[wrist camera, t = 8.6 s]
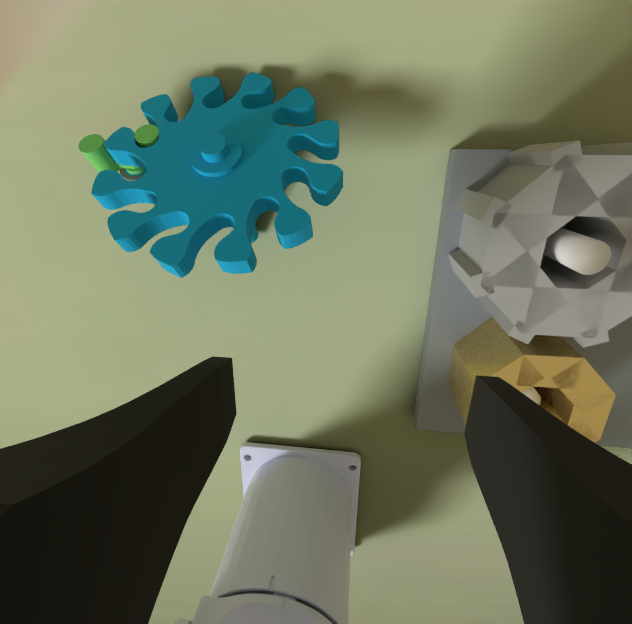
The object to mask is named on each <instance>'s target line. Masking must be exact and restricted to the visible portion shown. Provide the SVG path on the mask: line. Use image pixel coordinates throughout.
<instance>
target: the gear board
mask: <svg viewBox="0 0 632 624" xmlns="http://www.w3.org/2000/svg"><path fill="white" fill-rule="evenodd" d="M490 317H493V318H494V319H495V320H496V322H497V323H498V324H499V325H500V326H501V328H502V329H503V330H504V331H505V332H506V334H507V335H509V336H511V337H513V338H515V339H517V340H520V341H522V342H524V343H526V344H528V343H529V342H530V341H531V340H532V338H533V337H534V336H535V335H549V336H560V337H561V338H562V339H564V340H565V341H566V342H567V343H568V344H569V345H570V346H571V347H573V348H574V349H575V350H576V351H577V352H578V353H579V354H580V355H581V356H583V357H584V358H585V359H586V361H587V362H588V363H589V364H590V365H591V366H592V368H593V369H594V370H595V371H596V372H597V373H598V375H599V376H600V377H601V378H602V379H603V380H604V382H605V383H606V384H607V385H608V386H609V387H610V389H611V390H612V391H613V392H614V393H615V394H616V396H615V399H614V402H613V405H612V408H611V410H610V413H609V416H608V419H607V421H606V424H605V427H604V430H603V433H602V435H601V438H600V440H598V441H597V442H595V443H596V444H597V445H600V446H611V447H623V448H632V142H624V143H610V144H596V145H582V146H581V143H580V140H576V141H566V142H555V143H545V144H534V145H528V146H525V147H523V148H520V149H517V150H508V149H452V150H450V153H449V160H448V167H447V175H446V182H445V189H444V197H443V204H442V211H441V219H440V226H439V233H438V241H437V248H436V255H435V263H434V270H433V277H432V285H431V292H430V299H429V307H428V314H427V321H426V329H425V336H424V343H423V351H422V358H421V365H420V372H419V380H418V387H417V394H416V402H415V409H414V416H413V417H414V422H415V427H416V430H427V431H439V432H450V433H462V434H464V432H465V427H466V425H465V423H464V420H463V417H462V415H461V412H460V410H459V407H458V405H457V402H456V399H455V397H454V394H453V392H452V389H451V386H450V384H449V381H448V380H449V374H450V367H451V361H452V355H453V348H454V343H456V342H457V341H459V340H460V339H461V338H463V337H464V336H465V335H467V334H468V333H470V332H471V331H472V330H474V329H475V328H477V327H478V326H479V325H481V324H482V323H484V322H485V321H486V320H488V319H489V318H490ZM522 393H523V394H524V395H526V396H527V397H529V398H530V399H531V400H533V401H534V402H535V403H537V404H538V405H539V404H540V401H541V398H540V396H539V394H538V393H537V391H536V390H535V389H534V387H532V386H531V387H530V388H528V389H527V390H525V391H523V392H522Z"/></svg>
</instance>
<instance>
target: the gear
mask: <svg viewBox="0 0 632 624" xmlns="http://www.w3.org/2000/svg"><path fill="white" fill-rule="evenodd" d="M190 86H191V90H192V92H193V95H194V101H193V105H192V107H191V109H190V111H189V112H188V114H187V116H186V117H185V118H184V119H182V120H180V121H178V122H177V120H178V115H177V113H176V110H175V108H174V106H173V104H172V102H171V100H170V98H169V96H168V95H166V94H163V95H159V96H156V97H153V98H151V99H148V100H146V101H144V102H142V103H141V109H142V111H143V113H144V115H145V116H146V118H147V120H148V122H149V124H150V125H144V126H142V127H140V128H139V129H138V130H137V131H136V132H135V134H134V132H133V131H132V130H131V129H129V128H126V127H122V128H120V129H118V130H117V131H116V132H114V133H113V134H112V135H111V136H110V137H109V138H108V139H107V140H106V141H105V140H104V139H103V138H102V136H100V135H98V134H92V135H88V136H86V137H84V138H83V139H82V140H81V141H80V143H79V149H80V151H81V152H82V153H83V154H84V156H85V157H86V158H87V159H88V161H89V162H90V163H91V164H92V165H93V167H94V168H95V169H96V170H97V172H98V173H99V174H98V175H97V177H96V179H95V181H94V184H93V188H92V193H91V194H92V195H93V196H94V197H95V198H96V199H97V200H98V201H99V202H100V204H101V205H102V206H103V207H104V208H106V209H110V210H112V209H118V208H121V207H123V206H126V205H130V204H134V203H151V204H155V206H154V208H153V209H151V210H150V211H148V212H145V213H137V212H132V211H127V210H123V211H118V212H116V213H114V214H112V215H111V216H110V217H108V227H109V230H110V233H111V234H112V236H113V238H114V240H115V241H116V242H117V243H118V244H119V245H120V246H121V247H122V248H123V249H124V250H125V251H126V252H133V251H136V250H138V249H140V248H141V247H143V246H144V245H145V244H146V243H147V242H148V241H149V240H150V239H151V238H152V237H154V236H155V235H157V234H158V233H160V232H162V231H164V230H167V229H170V228H173V227H177V226H182V225H188V227H187V228H186V229H185V230H184V231H183V232H181V233H178V234H175V235H171V236H166V237H163V238H161V239H159V240H158V241H157V242H155V244H154V245H153V246H152V248H151V250H150V253H151V254H152V255H153V257H154V258H155V259H156V260H157V261H158V262H159V263H160V264H161V266H162V267H163V268H164V269H166V270H167V271H168V272H170V273H172V274H174V275H176V276H179V277H181V278H182V277H184V276H186V275H187V274H188V273H189V272H190V271H191V270H192V269H193V266H194V263H195V259H196V256H197V254H198V252H199V250H200V249H201V247H202V246H203V244H204V243H205V242H206V241H207V240H208V239H209V238H210V237H212V236H213V235H214V234H215V233H217V232H218V231H219V230H221V229H223V228H226V227H233V228H234V229H233V231H232V232H231V233H230V234H229V235H227V236H226V237H225V238H223V239H222V240H221V241H220V242H219V243H218V244H217V246H216V248H215V252H214V255H215V259H216V261H217V262H218V264H219V266H220V267H221V269H222V271H224V272H227V273H234V274H238V273H250V272H253V270H254V269H255V267H256V263H257V260H256V256H255V254H254V251H253V249H252V246H251V243H253V242H254V241H255V240H256V239H257V238H258V231H257V228H256V226H255V223H256V221H257V218H258V217H259V216H260V215H261V214H262V213H264V212H266V211H276V212H278V214H277V216H276V218H275V222H274V225H275V229H276V233H277V236H278V240H279V243H280V244H281V245H282V246H283V247H284V248H285V249H288V248H293V247H295V246H298V245H300V244H302V243H304V242H306V241H307V240H309V239H311V238H312V237H313V232H312V224H311V218H310V216H309V214H308V213H307V212H306V211H305V210H303V209H301V208H299V207H297V206H296V205H295V204H293V203H292V202H291V201H290V200H289V199H288V197H287V196H286V194H285V192H284V190H285V188H286V187H287V186H288V185H289V184H291V183H293V182H302V183H305V184H306V185H307V186H308V187H309V189H310V193H311V196H312V199H313V200H314V201H315V202H316V203H318V204H320V205H323V206H328V205H329V204H331V203H332V202H333V201H334V200H335V199H336V197H337V196H338V195H339V193H340V191H341V189H342V188H343V171H342V170H341V169H340V168H339V167H338V166H335V165H332V164H318V163H313V162H309V161H306V160H304V159H302V158H300V157H299V156H297V155H296V154H295V152H296V151H299V150H308V151H310V152H312V153H313V154H314V155H316V156H317V157H318V158H320V159H323V160H333V159H336V158H337V156H338V154H339V126H338V122H337V121H334V120H325V121H321V122H319V123H316V124H313V125H309V126H302V125H308V124H311V123H312V122H314V121H315V120H316V114H315V102H314V99H313V97H312V95H311V94H310V93H309V92H308V91H307V90H306V89H305V88H304V87H299V88H295V89H293V90H291V91H290V92H289V93H288V94H287V95H286V96H285V97H284V98H282V99H281V100H279V101H278V102H276V103H273V104H272V102H273V101H274V99H275V96H274V91H273V85H272V80H271V79H269V78H268V77H266V76H264V75H261V74H257V73H253V72H252V73H249V74H248V75H246V76H245V77H244V78H243V80H242V85H241V87H240V89H239V91H238V92H237V93H236V94H235V96H234V97H233V98H231V99H230V100H229V101H227V102H226V103H224V101H225V96H224V93H223V90H222V87H221V83H220V80H219V78H217V77H198V78H194V79H193V80H192V82H191V85H190ZM223 103H224V104H223ZM222 104H223V105H222ZM270 104H271V105H270ZM284 124H294V125H301V126H302V127H294V126H286V125H284ZM119 169H120V174H121V175H122V176H121V175H120V174H119V173H118V172H117V171H118V170H119Z"/></svg>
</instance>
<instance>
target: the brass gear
mask: <svg viewBox="0 0 632 624" xmlns="http://www.w3.org/2000/svg"><path fill="white" fill-rule="evenodd" d="M476 375H478V376H493V377H499V378H501V379H503V380H504V381H506V382H507V383H509V384H510V385H512V386H513V387H515V388H516V389H517V390H519V391H520V392H523V391H525V390H527V389H528V388H530V387H531V386H532V387H534V389H535V390H536V391H537V393H538V394H539V396H540V398H541V401H540V404H539V405H540V406H541V407H542V408H544V409H545V410H547V411H548V412H549V413H551V414H552V415H554V416H555V417H556V418H558V419H559V420H561V421H562V422H564V423H565V424H567V425H568V426H570V427H571V428H573V429H574V430H576V431H577V432H579V433H580V434H582V435H583V436H585V437H586V438H588V439H590V440H591V441H593V442H594V443H595V442H597V441H598V440H600V438H601V435H602V433H603V430H604V427H605V424H606V421H607V419H608V416H609V413H610V410H611V408H612V405H613V402H614V399H615V396H616V394H615V393H614V392H613V391H612V390H611V389H610V387H609V386H608V385H607V384H606V383H605V382H604V380H603V379H602V378H601V377H600V376H599V375H598V373H597V372H596V371H595V370H594V369H593V368H592V366H591V365H590V364H589V363H588V362H587V361H586V359H585V358H584V357H583V356H581V355H580V354H579V353H578V352H577V351H576V350H575V349H574V348H573V347H571V346H570V345H569V344H568V343H567V342H566V341H565V340H564V339H562V338H561V337H560V336H549V335H535V336H534V337H533V338H532V340H531V341H530V342H529V343H528V344H526V343H524V342H522V341H520V340H517V339H515V338H513V337H511V336H509V335H507V334H506V332H505V331H504V330H503V329H502V328H501V326H500V325H499V324H498V323H497V322H496V320H495V319H494V318H493V317H490V318H489V319H488V320H486V321H485V322H484V323H482V324H481V325H479V326H478V327H477V328H475V329H474V330H472V331H471V332H470V333H468V334H467V335H465V336H464V337H463V338H461V339H460V340H459V341H457V342H456V343H454V348H453V355H452V361H451V367H450V374H449V380H448V381H449V384H450V386H451V389H452V392H453V394H454V397H455V399H456V402H457V405H458V407H459V410H460V412H461V415H462V417H463V420H464V423H465V425H466V422H467V418H468V413H469V408H470V403H471V398H472V393H473V388H474V383H475V378H476Z"/></svg>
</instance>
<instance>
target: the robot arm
mask: <svg viewBox="0 0 632 624" xmlns="http://www.w3.org/2000/svg"><path fill="white" fill-rule="evenodd" d="M235 416H236V402H235V390H234V378H233V366H232V358H225V357H211V358H209V359H207V360H205V361H203V362H201V363H199V364H197V365H195V366H194V367H192V368H190V369H188V370H187V371H185V372H183V373H182V374H180V375H178V376H176V377H175V378H173V379H171V380H169V381H168V382H166V383H164V384H162V385H160V386H159V387H157V388H155V389H153V390H151V391H149V392H147V393H145V394H143V395H141V396H139V397H137V398H136V399H134V400H132V401H130V402H128V403H126V404H124V405H121V406H119V407H117V408H115V409H113V410H111V411H108V412H106V413H103V414H101V415H99V416H96V417H94V418H92V419H89V420H87V421H84V422H82V423H79V424H76V425H73V426H70V427H67V428H65V429H62V430H59V431H56V432H53V433H51V434H48V435H45V436H42V437H39V438H36V439H32V440H29V441H26V442H23V443H19V444H16V445H12V446H9V447H5V448H2V449H0V624H148V622H149V619H150V617H151V614H152V611H153V608H154V605H155V602H156V599H157V597H158V594H159V591H160V589H161V586H162V583H163V581H164V578H165V575H166V572H167V570H168V567H169V564H170V562H171V559H172V557H173V554H174V551H175V549H176V546H177V544H178V541H179V539H180V536H181V534H182V531H183V529H184V526H185V524H186V522H187V519H188V517H189V515H190V513H191V511H192V509H193V507H194V505H195V503H196V501H197V499H198V497H199V495H200V493H201V491H202V489H203V487H204V485H205V483H206V481H207V479H208V477H209V476H210V474H211V472H212V470H213V468H214V466H215V464H216V462H217V460H218V458H219V456H220V454H221V452H222V450H223V448H224V446H225V444H226V442H227V439H228V436H229V434H230V431H231V428H232V425H233V422H234V419H235ZM464 434H465V439H466V443H467V448H468V452H469V456H470V460H471V464H472V467H473V470H474V473H475V476H476V478H477V481H478V484H479V486H480V489H481V492H482V494H483V497H484V499H485V502H486V505H487V507H488V510H489V512H490V515H491V518H492V520H493V523H494V525H495V528H496V531H497V533H498V536H499V538H500V541H501V544H502V547H503V550H504V553H505V556H506V558H507V561H508V565H509V568H510V572H511V576H512V579H513V583H514V586H515V590H516V594H517V597H518V601H519V605H520V608H521V612H522V616H523V620H524V624H632V465H631V464H630V463H628V462H626V461H624V460H623V459H621V458H619V457H617V456H615V455H614V454H612V453H610V452H609V451H607V450H605V449H604V448H602V447H601V446H599V445H597V444H596V443H594V442H593V441H591V440H590V439H588V438H586V437H585V436H583V435H582V434H580V433H579V432H577V431H576V430H574V429H573V428H571V427H570V426H568V425H567V424H565V423H564V422H562V421H561V420H559V419H558V418H556V417H555V416H554V415H552V414H551V413H549V412H548V411H547V410H545V409H544V408H542V407H541V406H540V405H538V404H537V403H535V402H534V401H533V400H531V399H530V398H529V397H527V396H526V395H524V394H523V393H522V392H520V391H519V390H517V389H516V388H515V387H513V386H512V385H510V384H509V383H507V382H506V381H504V380H503V379H501V378H499V377H493V376H478V375H476V378H475V383H474V388H473V393H472V398H471V403H470V408H469V413H468V418H467V422H466V427H465V432H464ZM247 455H249V456H251V457H249V456H247ZM240 457H241V469H242V481H243V493H244V499H243V502H242V505H241V507H240V510H239V513H238V516H237V519H236V521H235V524H234V527H233V530H232V533H231V536H230V538H229V541H228V544H227V547H226V550H225V553H224V555H223V558H222V561H221V564H220V567H219V569H218V572H217V575H216V578H215V581H214V584H213V586H212V589H211V592H210V595H209V596H202V598H201V601H200V604H199V606H198V609H197V612H196V615H195V617H194V620H193V623H192V621H191V620H187V619H184V618H179V619H178V620H177V621H175V623H174V624H348V607H349V577H350V556H352V555H353V554H354V547H355V534H356V521H357V507H358V494H359V481H360V468H361V457H360V455H359V454H357V453H354V452H345V451H334V450H323V449H313V448H302V447H292V446H281V445H271V444H260V443H250V442H246V443H243V444H242V446H241V448H240ZM351 465H354V466H355V467H351Z"/></svg>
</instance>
